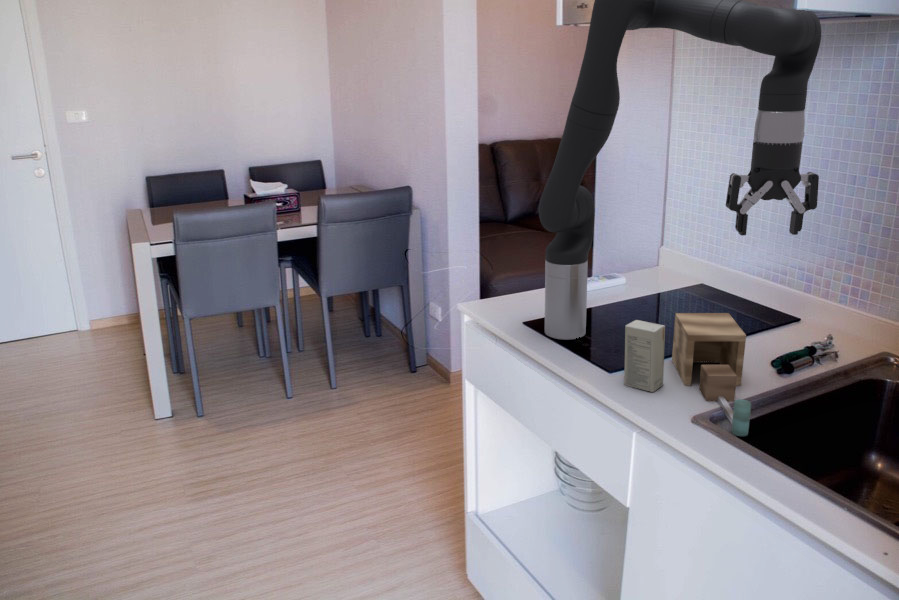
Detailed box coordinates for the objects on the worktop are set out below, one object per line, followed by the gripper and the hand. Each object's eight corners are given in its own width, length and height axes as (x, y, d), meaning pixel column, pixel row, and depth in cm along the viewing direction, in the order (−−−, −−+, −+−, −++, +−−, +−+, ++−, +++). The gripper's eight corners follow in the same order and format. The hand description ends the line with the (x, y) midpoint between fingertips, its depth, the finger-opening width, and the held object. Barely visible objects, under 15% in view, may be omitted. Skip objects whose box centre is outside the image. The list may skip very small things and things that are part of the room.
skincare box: (663, 385, 142) (667, 325, 138) (652, 393, 139) (656, 332, 135) (633, 376, 146) (636, 318, 142) (621, 384, 143) (624, 324, 139)
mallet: (699, 389, 140) (701, 362, 138) (726, 389, 140) (728, 362, 138) (726, 436, 123) (729, 406, 121) (757, 436, 123) (761, 406, 121)
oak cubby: (671, 359, 153) (675, 313, 150) (724, 360, 152) (728, 313, 149) (684, 385, 142) (688, 335, 138) (740, 385, 141) (746, 335, 138)
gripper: (814, 134, 126) (802, 228, 131) (727, 136, 127) (719, 229, 132) (832, 140, 119) (818, 239, 124) (739, 142, 120) (730, 240, 125)
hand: (767, 234), depth 128 cm, fingers open, 8 cm apart
